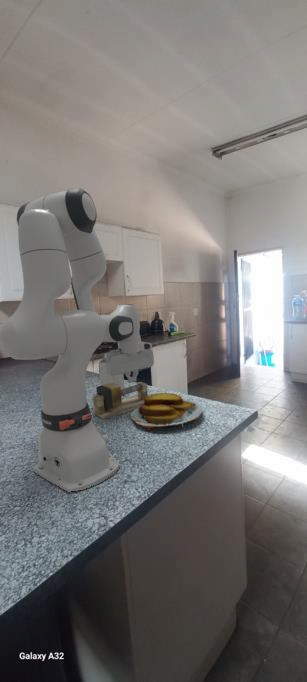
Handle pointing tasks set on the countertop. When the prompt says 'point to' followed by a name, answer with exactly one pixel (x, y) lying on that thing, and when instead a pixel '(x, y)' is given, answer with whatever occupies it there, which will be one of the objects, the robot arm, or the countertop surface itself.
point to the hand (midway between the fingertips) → (132, 382)
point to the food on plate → (165, 410)
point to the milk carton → (107, 378)
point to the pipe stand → (126, 403)
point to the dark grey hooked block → (105, 396)
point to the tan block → (115, 393)
